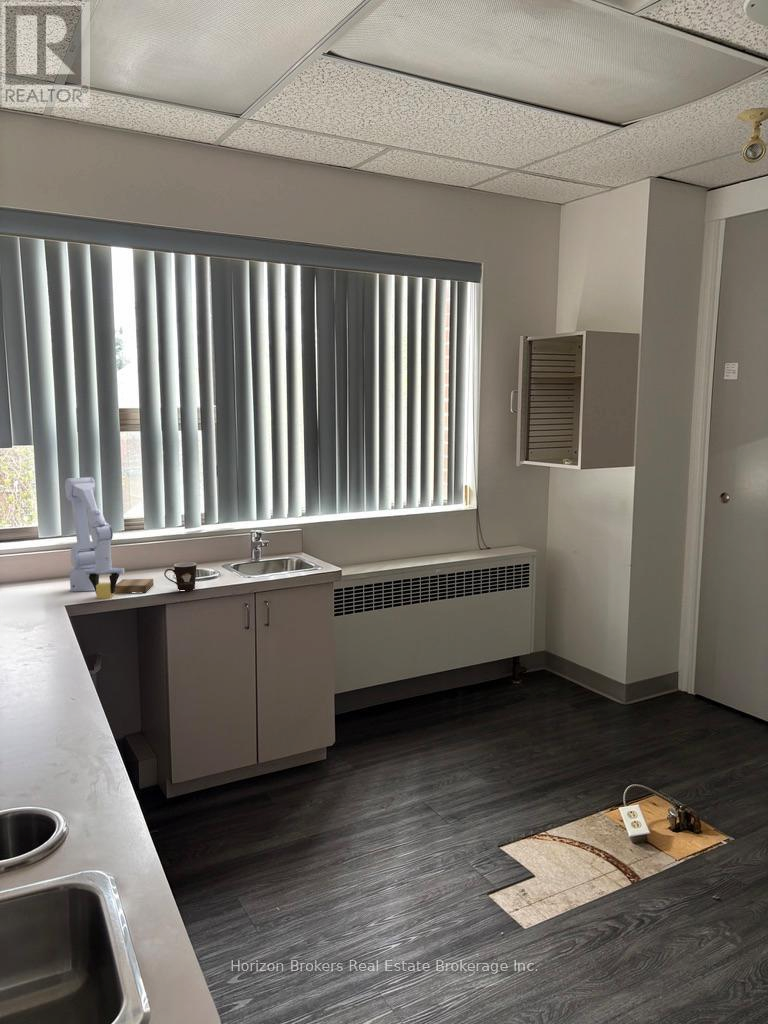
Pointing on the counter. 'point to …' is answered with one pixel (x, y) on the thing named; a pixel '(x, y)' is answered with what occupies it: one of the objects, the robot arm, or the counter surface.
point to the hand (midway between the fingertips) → (105, 593)
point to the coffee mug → (184, 575)
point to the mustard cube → (104, 590)
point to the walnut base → (133, 585)
